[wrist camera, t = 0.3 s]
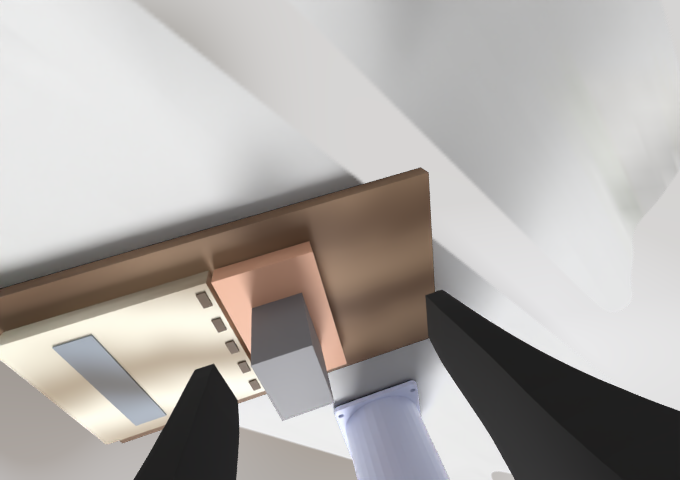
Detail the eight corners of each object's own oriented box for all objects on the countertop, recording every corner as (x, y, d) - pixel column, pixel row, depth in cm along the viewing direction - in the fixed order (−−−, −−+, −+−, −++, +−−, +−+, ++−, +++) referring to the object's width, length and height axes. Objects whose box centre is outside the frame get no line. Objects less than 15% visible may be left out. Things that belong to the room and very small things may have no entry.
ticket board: (431, 326, 26) (445, 347, 24) (127, 429, 24) (115, 462, 22) (420, 167, 19) (439, 179, 17) (-23, 295, 16) (-61, 327, 14)
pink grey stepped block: (343, 350, 23) (363, 417, 19) (270, 375, 23) (273, 450, 18) (309, 240, 18) (326, 298, 14) (213, 269, 18) (199, 339, 13)
